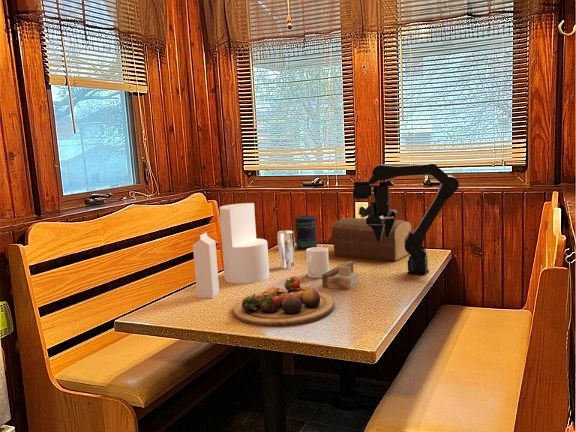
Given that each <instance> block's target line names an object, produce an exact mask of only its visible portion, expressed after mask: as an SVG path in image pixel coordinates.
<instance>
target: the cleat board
mask: <svg viewBox="0 0 576 432" xmlns="http://www.w3.org/2000/svg"><path fill="white" fill-rule="evenodd" d="M339 266H349V267H351V273H355V272H354V261H353V260H348V261H346V262H344V263H342V264H340V265H338V266H336V267H334V268H332V269H331V270H330V269H329V271H328V272H326V273H325V274H323V275H322V278H321V283H322V284H321V285H322V288H327V289H336V290H347V291H349V290H351V287H352V286H351V281H350V279H349V278H339V277H333V276H335V275H337V274H339Z"/></svg>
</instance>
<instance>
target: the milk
mask: <svg viewBox="0 0 576 432" xmlns="http://www.w3.org/2000/svg"><path fill="white" fill-rule="evenodd" d="M216 247H217V245H216V240H214V239H212V238H211V237H209V236H208V232H207V231H206V232H204V233H202V234H200V235H199V240H197V241H196V242H195V243H193V244H192V248H193V259H194V260H193V264H194V272H195V273H194V275H195V286H196V298H199V299H214V298H215V297H216V296H217V295H219V294H220V287H219V286H220V284H219V269H218V257H217V248H216Z"/></svg>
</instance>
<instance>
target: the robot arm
mask: <svg viewBox="0 0 576 432" xmlns="http://www.w3.org/2000/svg"><path fill="white" fill-rule="evenodd" d="M419 175H420V176H421V175H422V176H423V175H431V176H432V177H433V178H434V179H435V180H436V181H438V182H439V187H438V190H437V193H436V195H435V197H434V199H433V201H432V202H431V204H430V205H429V207H428V209H427V211H426V212H425V213H424V215H423V217H422V219H421V220H420V222H419V223H418V225H417V226H416V228H415V229H414V230H412V229H411V230H409V233H408V235H407V236H406V237H405V250H406V252H408V253H409V255H408V260H407V274H408V275H409V274H410V275H423V276H424V275H426V274H427V273H428V272H430V269H429V265H428V264H429V262H428V255H427V251H426V248H425V247H424V246H423V243H424V240H425V237H426V234H427V233H428V231H429V229H430V227H431V226H432V224H433V223H434V221H435V219H436V218H437V216H438V215H439V213H440V212H441V209H442V208H443V207H444V205H445V203H446V202H447V201H448V200H449V199H450V198H451V197H453V195H454V194H455V193H456V192H457V190H458V189H459V187H460V182H459V180H458V179H457V178H456V177H455V176H453V175H449V174H447V173H446V172H445V171H443V170H442V169H441V168H440V167H438V165H437V164H436V163H434V162H430V163H421V164H420V163H419V164H409V165H391V164H383V163H380V164H377V165H376V166H374V168H373V170H372V175H371V177H370V178H368V180H363V181H359V180H355V181H353V190H352V191H353V192H352V194H353V200H369V199H370V197H372V196H373V201H371V203H370V204H371V205H370V206H367V207H366V205H363V206H360V207H359V209H358V215H359V216H360V217H361V218H365V217H366V218H365V219H366V224H367V225H368V226H370V227H371V228H372V229H373V231H374V234H375V237H376V240H377V242H380V241H381V238H382V234H383V230H384V229H385V235H386V237H389V235H390V233H391V230H392V228H393V226H394V223H395V221H396V220H398V217H399V211H398V210H397V209H390V206H391V205H390V204H392V200H391V199H390V187H394V186H395V183H394V182H393V181H391V179H394V178H397V177H409V176H419ZM386 180H387V181H386ZM377 182H379V184H378V183H377ZM376 183H377V184H376Z"/></svg>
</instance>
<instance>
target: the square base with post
mask: <svg viewBox="0 0 576 432" xmlns="http://www.w3.org/2000/svg"><path fill="white" fill-rule="evenodd" d="M338 266H339V274H337V275H335V276H333V277H339V278H349V279H350V281H351V287H352V286H354V285H355V284H357V283H358V273H355V272H354V273H351V267H349V266H340V265H338Z"/></svg>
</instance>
